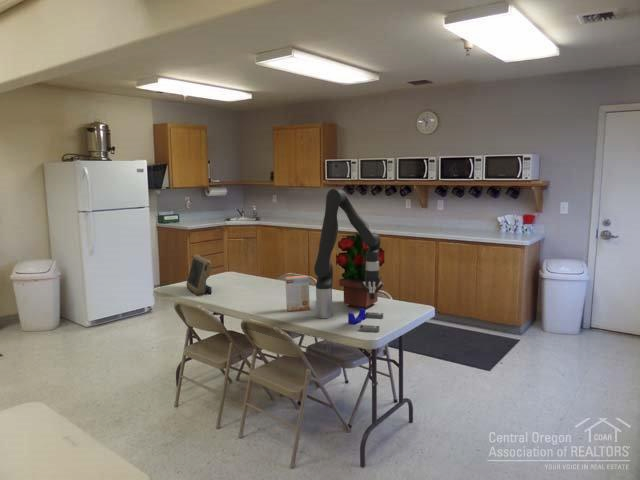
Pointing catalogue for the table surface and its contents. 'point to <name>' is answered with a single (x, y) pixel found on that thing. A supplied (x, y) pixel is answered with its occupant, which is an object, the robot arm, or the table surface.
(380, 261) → the potted plant
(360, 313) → the cable clip
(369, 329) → the label stands
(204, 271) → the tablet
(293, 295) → the cracker box
